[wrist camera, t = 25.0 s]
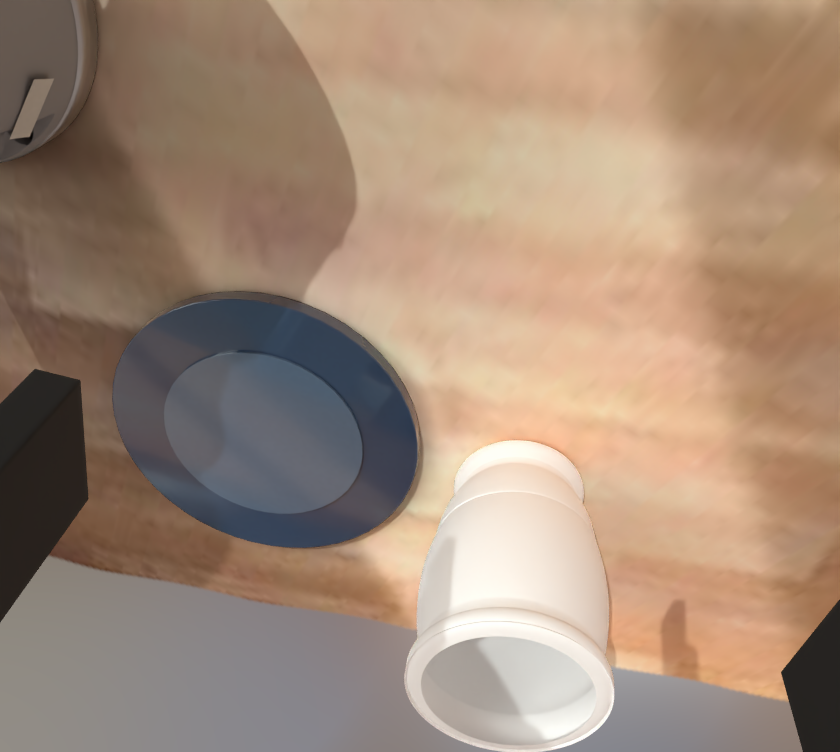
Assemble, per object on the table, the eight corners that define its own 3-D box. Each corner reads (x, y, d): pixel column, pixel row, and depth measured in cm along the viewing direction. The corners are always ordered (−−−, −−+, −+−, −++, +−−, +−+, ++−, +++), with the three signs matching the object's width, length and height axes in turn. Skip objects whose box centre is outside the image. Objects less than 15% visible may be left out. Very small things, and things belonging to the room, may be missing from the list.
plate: (122, 498, 56) (114, 510, 55) (114, 254, 45) (104, 263, 44) (390, 565, 56) (387, 578, 55) (451, 338, 45) (448, 349, 44)
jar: (569, 561, 53) (575, 774, 41) (424, 524, 53) (385, 726, 41) (624, 447, 47) (649, 656, 35) (460, 405, 47) (427, 600, 35)
